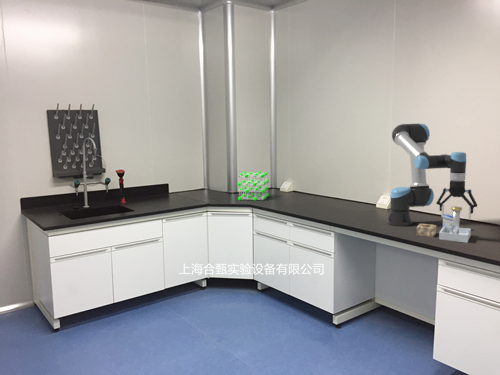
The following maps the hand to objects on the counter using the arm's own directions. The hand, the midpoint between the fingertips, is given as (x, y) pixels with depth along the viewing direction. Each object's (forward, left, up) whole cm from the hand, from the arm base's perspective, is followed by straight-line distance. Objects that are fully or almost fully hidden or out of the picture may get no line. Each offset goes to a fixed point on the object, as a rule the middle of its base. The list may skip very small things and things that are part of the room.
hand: (455, 218), depth 225 cm
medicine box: (-5, +20, -11) cm, 24 cm away
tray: (0, 0, -11) cm, 11 cm away
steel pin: (0, 0, -10) cm, 10 cm away
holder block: (-15, 0, -11) cm, 19 cm away
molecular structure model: (-175, +60, -11) cm, 185 cm away
